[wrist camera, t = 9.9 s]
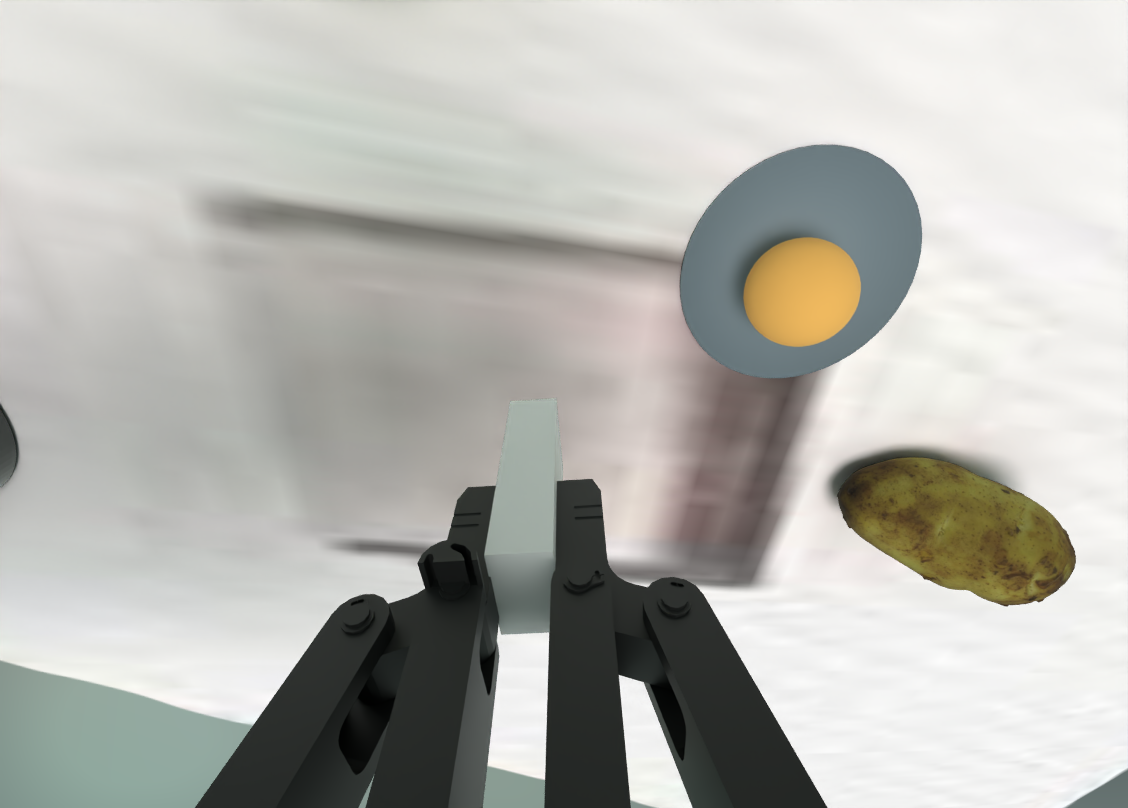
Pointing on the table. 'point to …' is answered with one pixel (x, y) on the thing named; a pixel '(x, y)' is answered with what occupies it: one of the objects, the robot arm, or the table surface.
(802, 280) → the ball
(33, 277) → the table surface
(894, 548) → the potato
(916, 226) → the disc
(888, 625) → the table surface
